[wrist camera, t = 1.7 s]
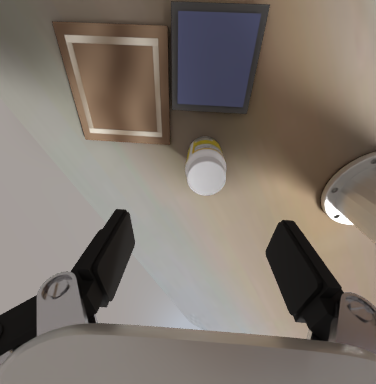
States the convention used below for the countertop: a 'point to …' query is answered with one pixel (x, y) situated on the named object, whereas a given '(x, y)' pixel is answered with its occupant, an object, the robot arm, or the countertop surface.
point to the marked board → (118, 79)
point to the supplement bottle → (205, 166)
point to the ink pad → (215, 54)
